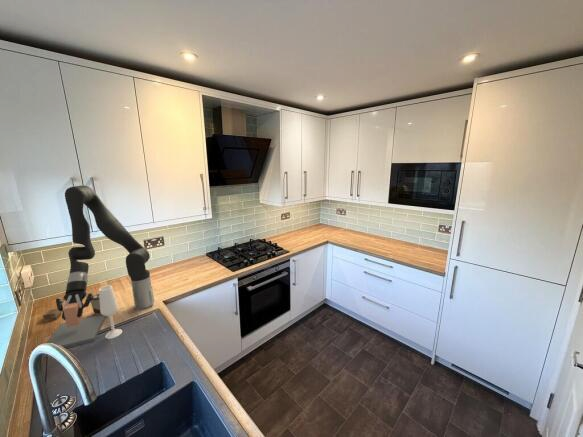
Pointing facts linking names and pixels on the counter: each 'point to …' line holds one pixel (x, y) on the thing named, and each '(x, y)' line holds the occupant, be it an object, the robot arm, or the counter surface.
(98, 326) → the slate board
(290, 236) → the counter surface
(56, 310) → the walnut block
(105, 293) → the champagne flute
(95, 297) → the food container
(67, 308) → the terracotta block
